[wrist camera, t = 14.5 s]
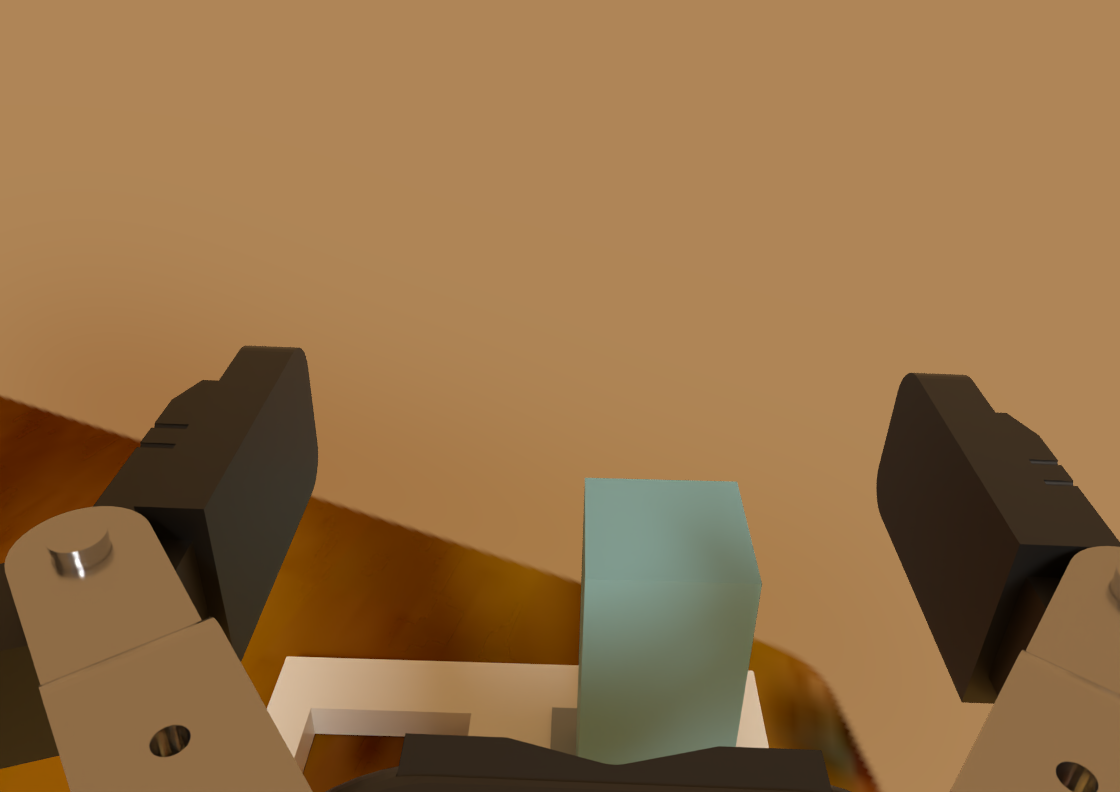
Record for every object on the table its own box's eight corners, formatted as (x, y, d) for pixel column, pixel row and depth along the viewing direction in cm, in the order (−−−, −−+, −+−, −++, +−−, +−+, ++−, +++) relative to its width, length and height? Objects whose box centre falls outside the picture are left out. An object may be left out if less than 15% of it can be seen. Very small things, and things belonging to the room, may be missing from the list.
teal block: (575, 844, 32) (585, 579, 26) (576, 728, 37) (585, 477, 31) (719, 849, 32) (761, 584, 26) (703, 732, 37) (737, 481, 31)
